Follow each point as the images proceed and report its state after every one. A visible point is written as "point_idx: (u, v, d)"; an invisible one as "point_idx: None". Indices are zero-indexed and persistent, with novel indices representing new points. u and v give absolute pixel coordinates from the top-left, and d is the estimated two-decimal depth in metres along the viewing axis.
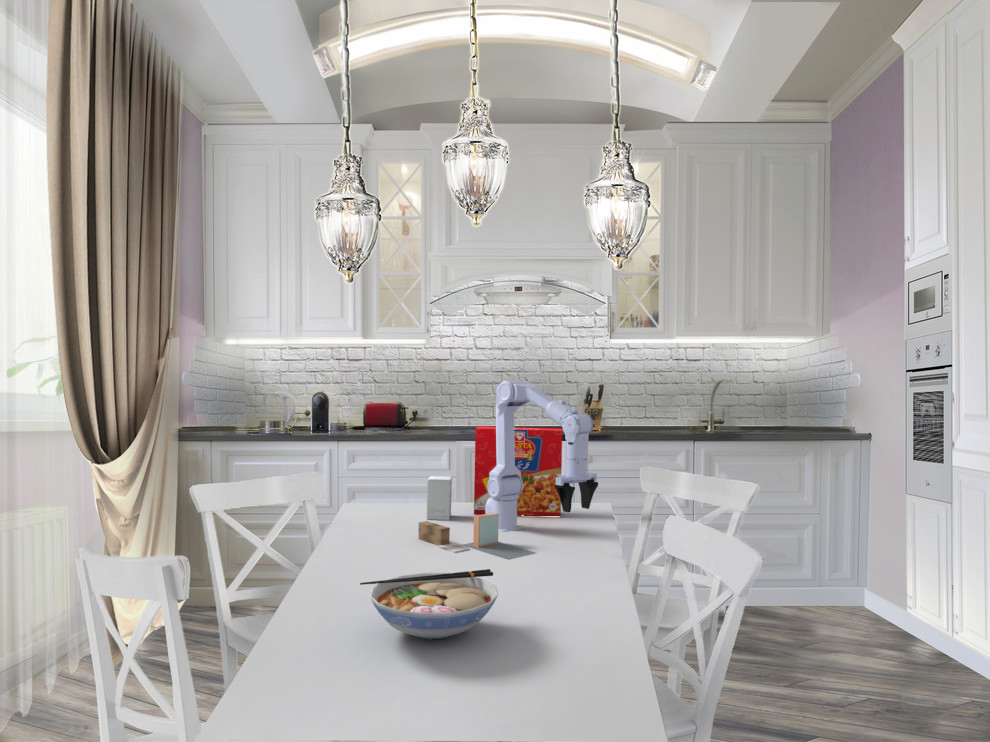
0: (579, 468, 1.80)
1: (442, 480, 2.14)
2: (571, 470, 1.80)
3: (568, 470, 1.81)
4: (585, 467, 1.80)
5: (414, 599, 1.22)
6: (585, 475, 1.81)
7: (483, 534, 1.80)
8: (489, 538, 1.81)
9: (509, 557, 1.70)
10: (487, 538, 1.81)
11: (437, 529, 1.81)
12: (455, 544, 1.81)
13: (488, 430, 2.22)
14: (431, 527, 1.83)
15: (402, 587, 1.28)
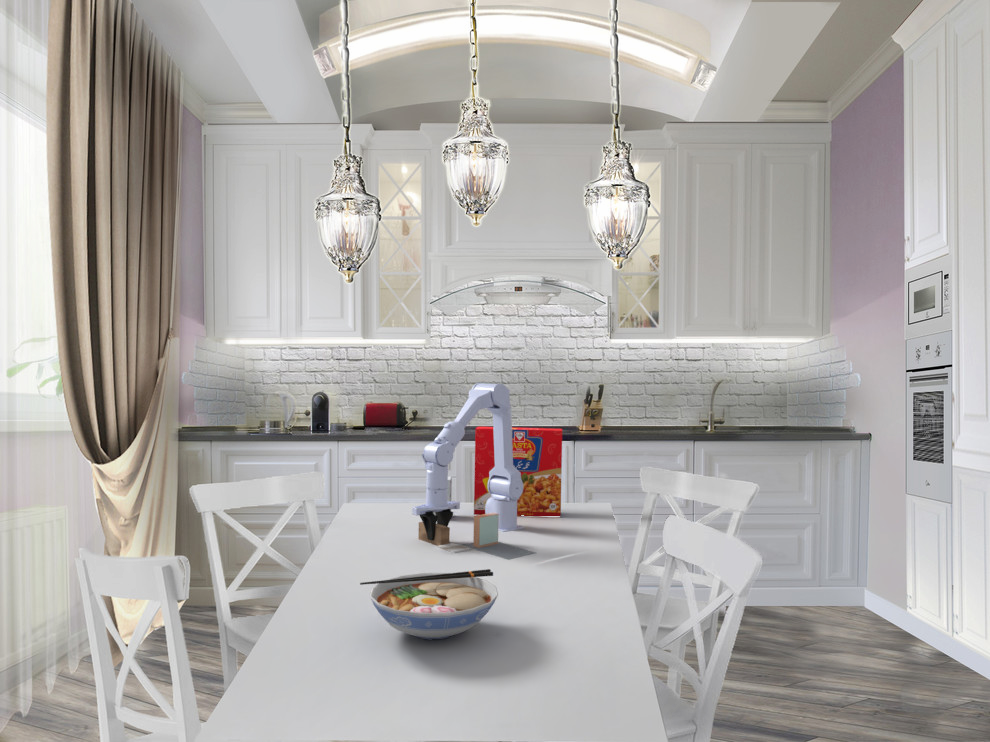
0: (436, 497, 1.81)
1: None
2: (429, 499, 1.81)
3: (427, 499, 1.82)
4: (443, 497, 1.81)
5: (414, 599, 1.22)
6: (443, 504, 1.82)
7: (483, 534, 1.80)
8: (489, 538, 1.81)
9: (509, 557, 1.70)
10: (487, 538, 1.81)
11: (437, 528, 1.81)
12: (455, 544, 1.81)
13: (488, 430, 2.22)
14: None
15: (402, 587, 1.28)
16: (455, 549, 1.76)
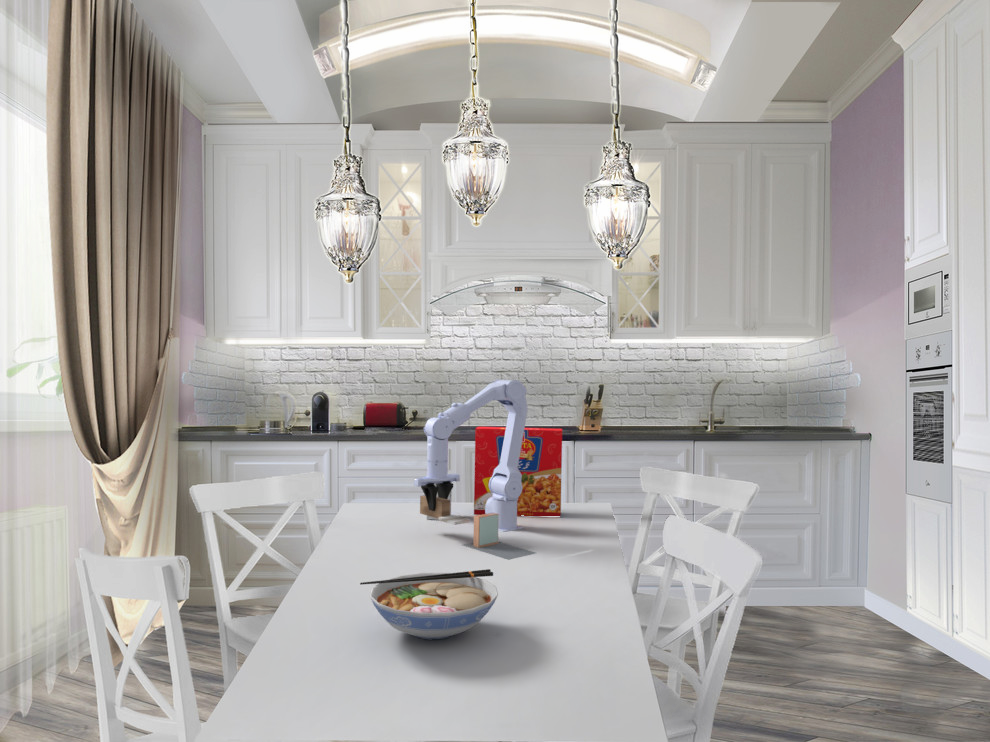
0: (437, 469, 1.88)
1: None
2: (430, 471, 1.89)
3: (428, 472, 1.90)
4: (443, 469, 1.89)
5: (414, 599, 1.22)
6: (444, 476, 1.89)
7: (483, 534, 1.80)
8: (489, 538, 1.81)
9: (509, 557, 1.70)
10: (487, 538, 1.81)
11: (438, 501, 1.88)
12: (455, 516, 1.88)
13: (488, 430, 2.22)
14: None
15: (402, 587, 1.28)
16: (455, 520, 1.83)
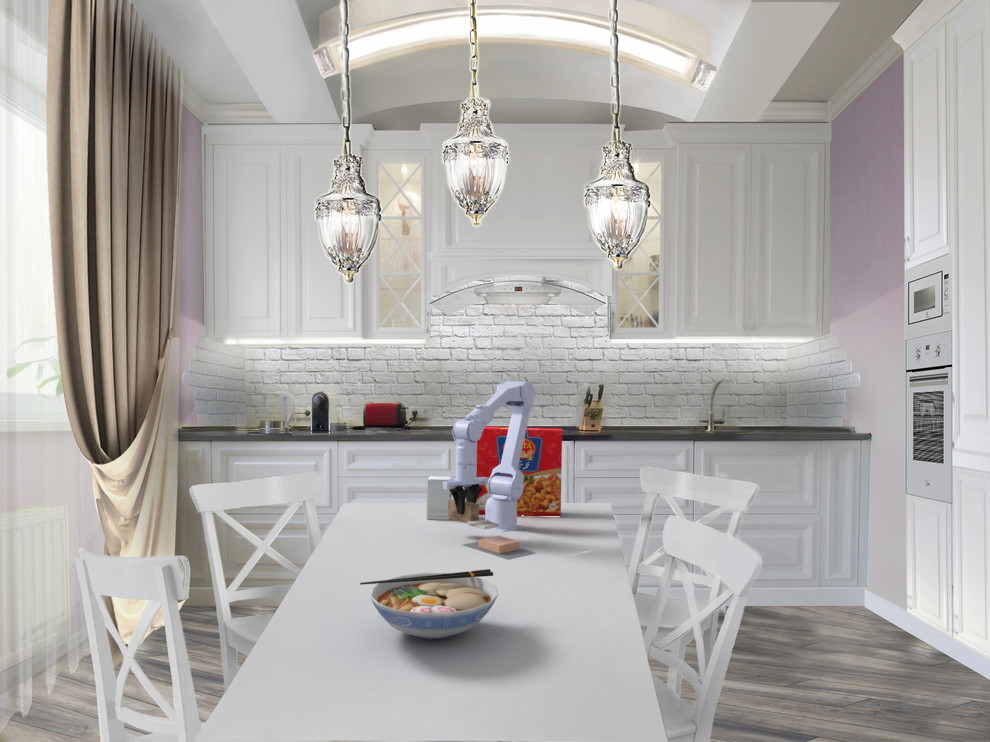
0: (466, 472, 1.86)
1: (442, 480, 2.14)
2: (459, 474, 1.86)
3: (457, 474, 1.87)
4: (472, 472, 1.86)
5: (414, 599, 1.22)
6: (473, 479, 1.87)
7: None
8: None
9: (509, 557, 1.70)
10: None
11: (467, 505, 1.86)
12: (484, 520, 1.86)
13: (488, 430, 2.22)
14: None
15: (402, 587, 1.28)
16: (485, 525, 1.81)
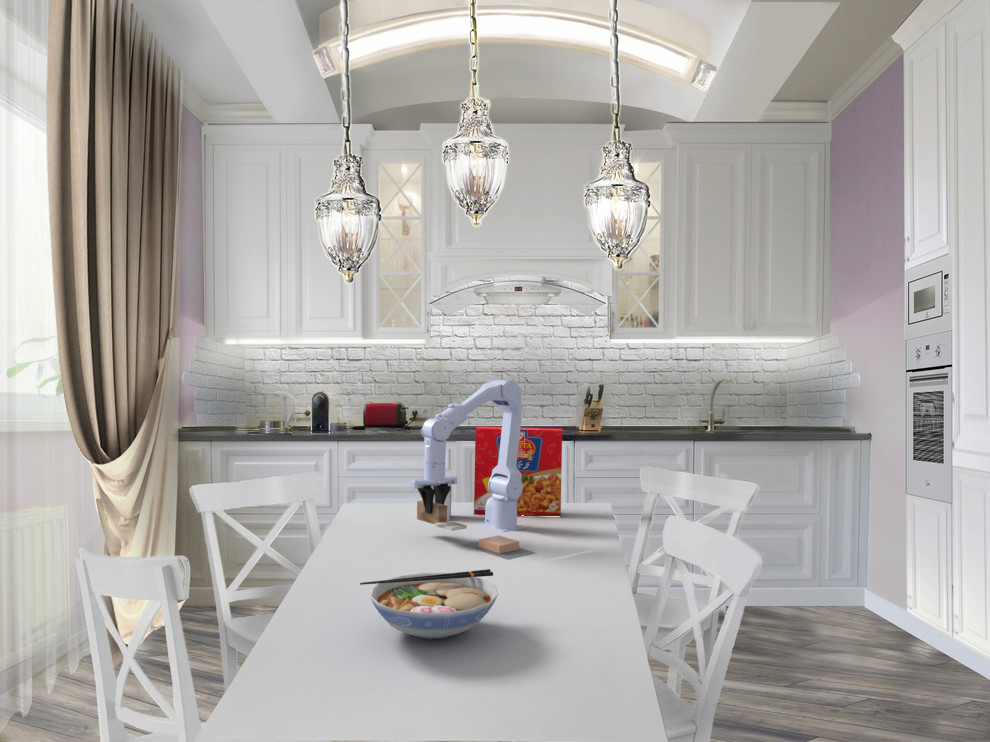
0: (434, 471, 1.85)
1: None
2: (427, 473, 1.86)
3: (425, 474, 1.87)
4: (440, 471, 1.86)
5: (414, 599, 1.22)
6: (441, 478, 1.86)
7: None
8: None
9: (509, 557, 1.70)
10: None
11: (435, 506, 1.85)
12: (452, 522, 1.85)
13: (488, 430, 2.22)
14: None
15: (402, 587, 1.28)
16: (452, 526, 1.80)
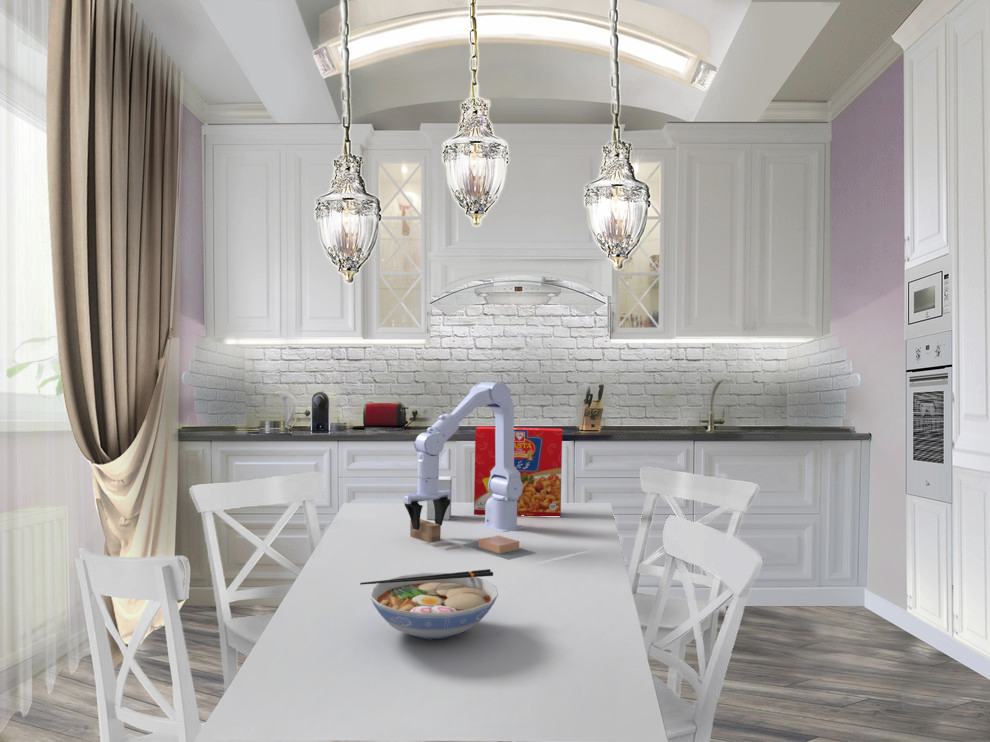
0: (428, 486, 1.84)
1: (442, 480, 2.14)
2: (420, 488, 1.84)
3: (418, 488, 1.85)
4: (434, 485, 1.84)
5: (414, 599, 1.22)
6: (434, 493, 1.85)
7: None
8: None
9: (509, 557, 1.70)
10: None
11: (428, 526, 1.84)
12: (446, 541, 1.84)
13: (488, 430, 2.22)
14: (422, 524, 1.86)
15: (402, 587, 1.28)
16: (446, 546, 1.78)
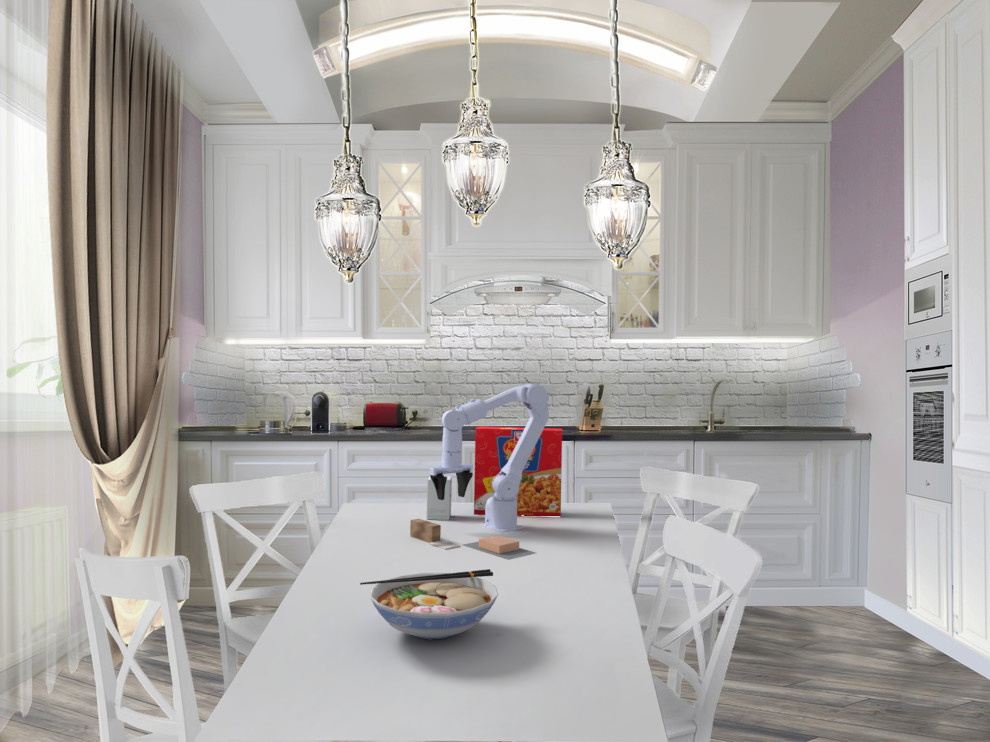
0: (452, 459, 1.97)
1: None
2: (445, 461, 1.97)
3: (443, 461, 1.98)
4: (457, 459, 1.98)
5: (414, 599, 1.22)
6: (458, 466, 1.98)
7: None
8: None
9: (509, 557, 1.70)
10: None
11: (428, 526, 1.84)
12: (446, 541, 1.84)
13: (488, 430, 2.22)
14: (422, 524, 1.86)
15: (402, 587, 1.28)
16: (446, 546, 1.78)
